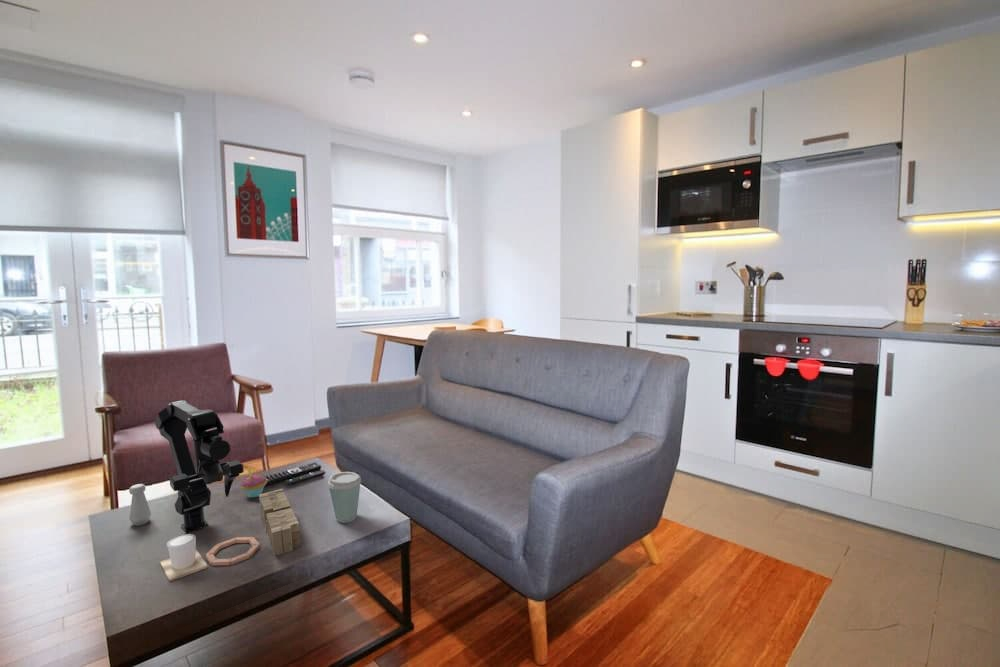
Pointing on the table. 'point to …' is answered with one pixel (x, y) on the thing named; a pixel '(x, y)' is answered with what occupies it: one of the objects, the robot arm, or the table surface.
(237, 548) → the table surface
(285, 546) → the block tower
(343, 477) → the disposable coffee cup
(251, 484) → the cupcake
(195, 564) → the beige flat pad
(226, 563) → the ring coaster
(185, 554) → the white cylinder
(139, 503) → the salt shaker
